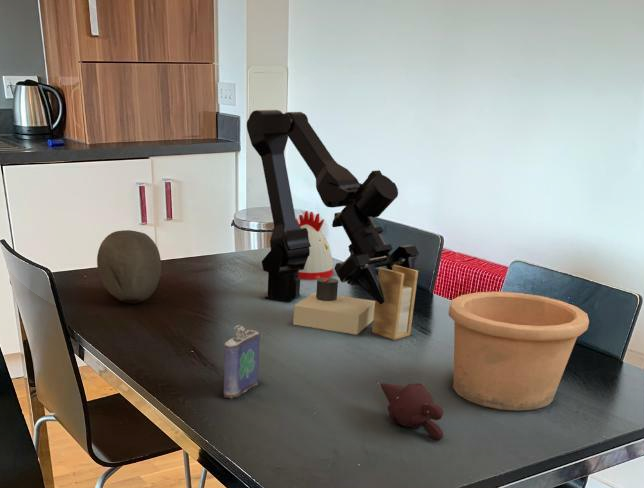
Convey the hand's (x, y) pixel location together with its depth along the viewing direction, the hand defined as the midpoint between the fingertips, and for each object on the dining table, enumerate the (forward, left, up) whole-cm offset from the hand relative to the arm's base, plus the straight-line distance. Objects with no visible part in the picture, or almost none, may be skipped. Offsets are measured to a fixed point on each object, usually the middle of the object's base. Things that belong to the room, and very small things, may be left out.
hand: (398, 299), depth 156 cm
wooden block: (-14, +2, -7) cm, 16 cm away
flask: (-15, -42, -7) cm, 45 cm away
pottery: (+25, -22, -7) cm, 34 cm away
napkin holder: (-1, 0, -7) cm, 7 cm away
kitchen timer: (-35, +39, -7) cm, 53 cm away
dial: (-17, +5, -3) cm, 18 cm away
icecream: (+14, -43, -7) cm, 46 cm away
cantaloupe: (-59, -6, -7) cm, 59 cm away
